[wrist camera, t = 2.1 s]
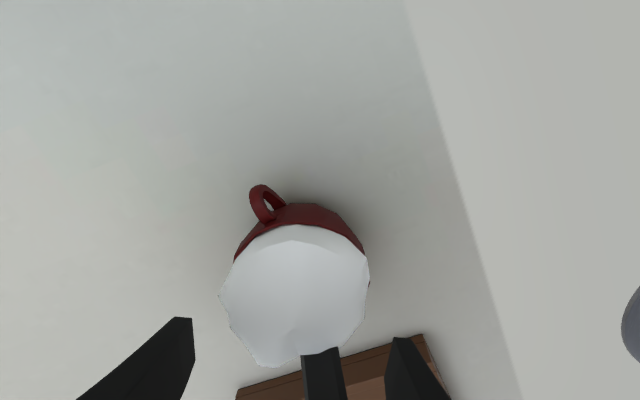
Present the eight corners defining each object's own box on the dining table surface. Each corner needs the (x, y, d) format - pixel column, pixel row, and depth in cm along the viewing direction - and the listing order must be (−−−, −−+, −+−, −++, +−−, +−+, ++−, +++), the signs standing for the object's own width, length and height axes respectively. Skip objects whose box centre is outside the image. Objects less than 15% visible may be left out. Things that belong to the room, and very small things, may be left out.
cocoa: (241, 167, 16) (32, 389, 5) (365, 166, 16) (450, 397, 4) (259, 313, 19) (164, 634, 8) (360, 314, 19) (400, 646, 8)
